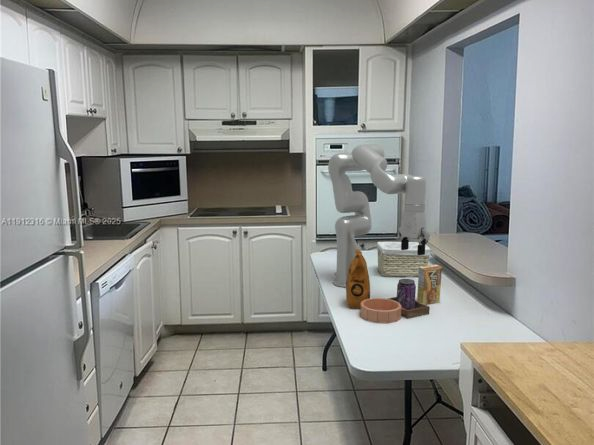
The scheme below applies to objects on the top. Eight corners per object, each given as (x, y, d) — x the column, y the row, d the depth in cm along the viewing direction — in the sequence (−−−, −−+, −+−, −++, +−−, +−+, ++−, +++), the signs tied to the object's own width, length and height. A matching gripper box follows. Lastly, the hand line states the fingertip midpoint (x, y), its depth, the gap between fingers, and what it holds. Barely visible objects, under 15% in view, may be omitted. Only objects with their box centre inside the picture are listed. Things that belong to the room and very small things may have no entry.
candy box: (433, 299, 209) (435, 264, 206) (440, 302, 205) (442, 266, 202) (416, 302, 205) (418, 266, 202) (423, 305, 201) (425, 268, 198)
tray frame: (382, 306, 200) (382, 299, 199) (404, 302, 205) (404, 295, 204) (406, 318, 187) (407, 311, 186) (429, 314, 192) (429, 306, 191)
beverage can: (394, 307, 199) (395, 278, 197) (411, 306, 199) (412, 278, 197) (399, 313, 192) (400, 283, 190) (417, 313, 192) (418, 283, 190)
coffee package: (343, 308, 197) (345, 254, 193) (346, 298, 209) (347, 247, 205) (369, 310, 195) (371, 256, 191) (370, 300, 207) (372, 248, 203)
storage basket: (421, 269, 255) (422, 241, 253) (430, 278, 240) (432, 248, 237) (375, 269, 255) (376, 241, 252) (380, 278, 239) (381, 248, 236)
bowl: (352, 312, 193) (353, 301, 192) (384, 306, 199) (384, 295, 199) (376, 325, 180) (376, 313, 179) (408, 319, 186) (409, 307, 186)
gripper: (392, 206, 196) (391, 248, 199) (421, 212, 181) (419, 258, 184) (407, 205, 199) (406, 246, 202) (437, 210, 184) (435, 255, 187)
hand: (412, 252), depth 193 cm, fingers open, 9 cm apart
